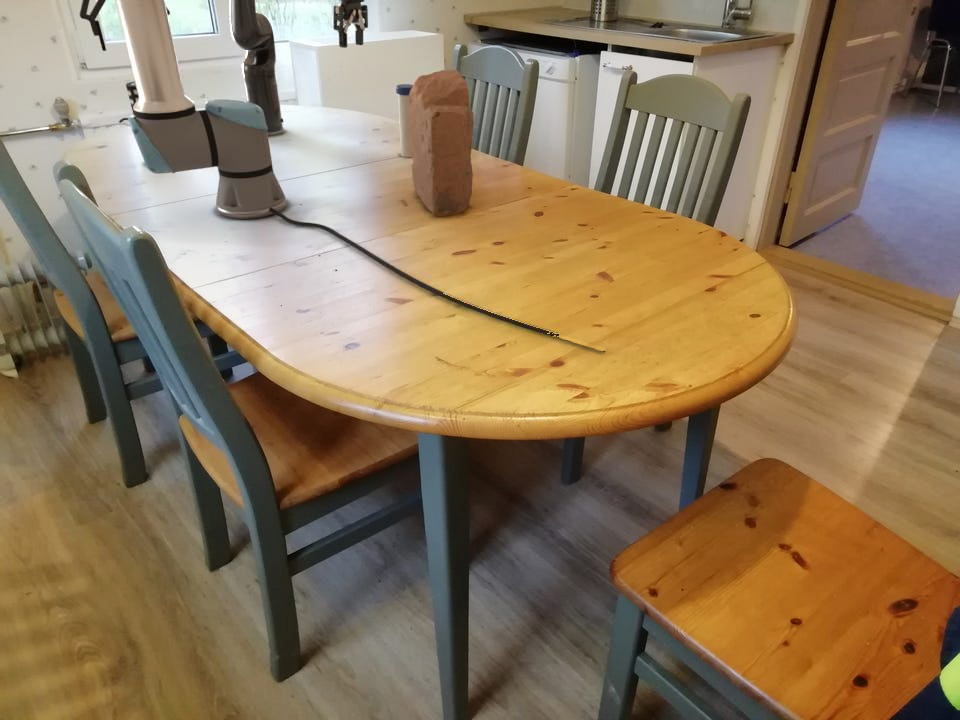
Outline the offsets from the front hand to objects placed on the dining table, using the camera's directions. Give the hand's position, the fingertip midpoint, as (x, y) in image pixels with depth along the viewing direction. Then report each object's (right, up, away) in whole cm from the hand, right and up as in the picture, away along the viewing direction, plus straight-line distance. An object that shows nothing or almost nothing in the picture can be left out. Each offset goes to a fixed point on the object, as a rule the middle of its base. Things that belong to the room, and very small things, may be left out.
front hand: (133, 48), depth 174 cm
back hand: (+51, +11, +23) cm, 57 cm away
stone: (+79, -41, -10) cm, 89 cm away
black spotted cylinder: (+1, -17, +7) cm, 18 cm away
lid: (+67, -5, +11) cm, 68 cm away
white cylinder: (+67, -21, +21) cm, 73 cm away
